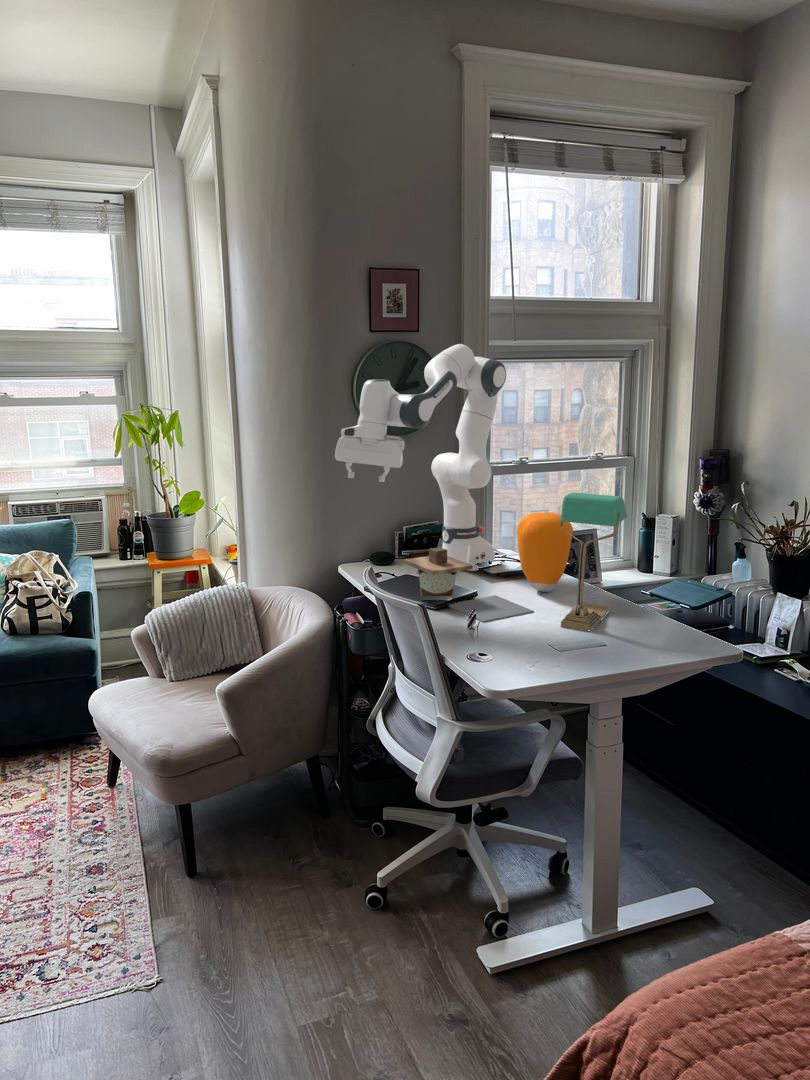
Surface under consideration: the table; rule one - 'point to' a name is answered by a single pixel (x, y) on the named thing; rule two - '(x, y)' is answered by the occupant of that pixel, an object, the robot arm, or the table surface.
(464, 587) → the table surface
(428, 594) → the food container
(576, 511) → the banker's lamp
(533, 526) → the orange tapered rounded form
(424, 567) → the walnut cover
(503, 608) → the charcoal mat
